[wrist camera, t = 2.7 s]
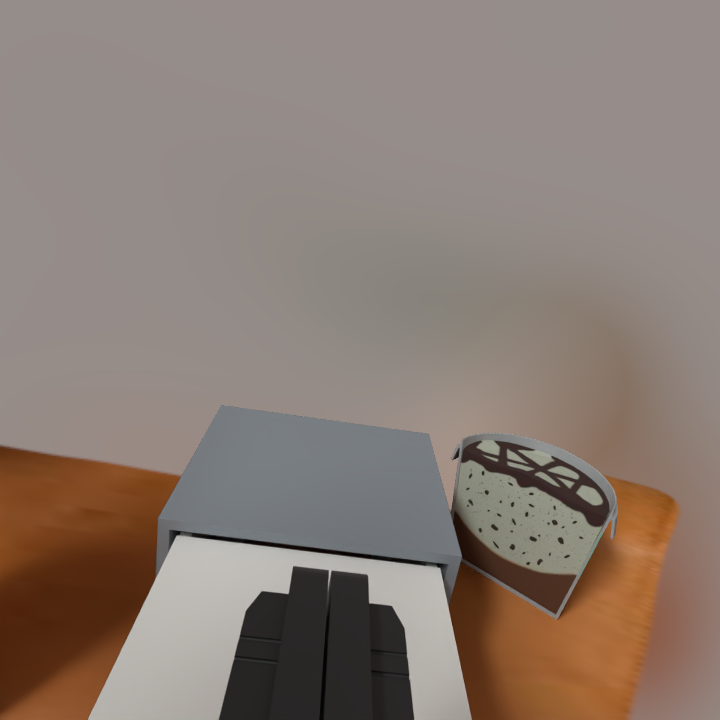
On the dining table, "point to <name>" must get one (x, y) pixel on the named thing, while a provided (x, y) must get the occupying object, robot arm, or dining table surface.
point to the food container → (529, 515)
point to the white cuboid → (225, 618)
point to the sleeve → (315, 489)
